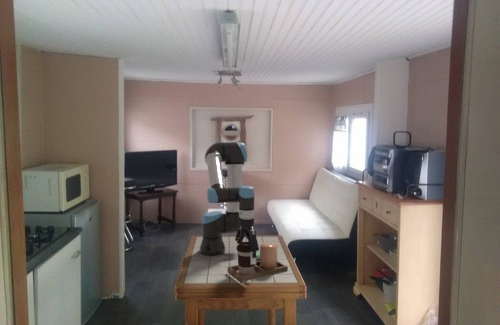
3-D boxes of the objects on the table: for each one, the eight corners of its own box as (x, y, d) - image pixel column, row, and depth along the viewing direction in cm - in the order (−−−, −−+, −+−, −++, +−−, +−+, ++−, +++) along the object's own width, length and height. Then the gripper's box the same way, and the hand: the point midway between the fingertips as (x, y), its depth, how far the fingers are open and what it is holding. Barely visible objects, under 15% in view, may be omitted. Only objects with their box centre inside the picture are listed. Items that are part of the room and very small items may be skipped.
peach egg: (256, 266, 200) (256, 244, 199) (271, 263, 204) (271, 241, 203) (265, 272, 192) (265, 249, 191) (280, 269, 197) (281, 246, 195)
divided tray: (227, 273, 195) (227, 266, 194) (272, 263, 208) (272, 258, 208) (240, 282, 183) (240, 276, 182) (287, 272, 196) (287, 266, 195)
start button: (249, 259, 209) (249, 253, 209) (256, 257, 211) (256, 252, 211) (253, 261, 205) (253, 256, 205) (261, 260, 207) (261, 254, 207)
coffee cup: (239, 277, 186) (239, 247, 184) (234, 270, 195) (234, 241, 194) (258, 275, 188) (258, 245, 187) (253, 268, 198) (253, 239, 197)
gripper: (228, 213, 198) (228, 253, 200) (252, 224, 177) (252, 269, 179) (241, 211, 202) (241, 251, 204) (266, 222, 180) (266, 266, 182)
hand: (246, 259), depth 191 cm, fingers open, 13 cm apart
